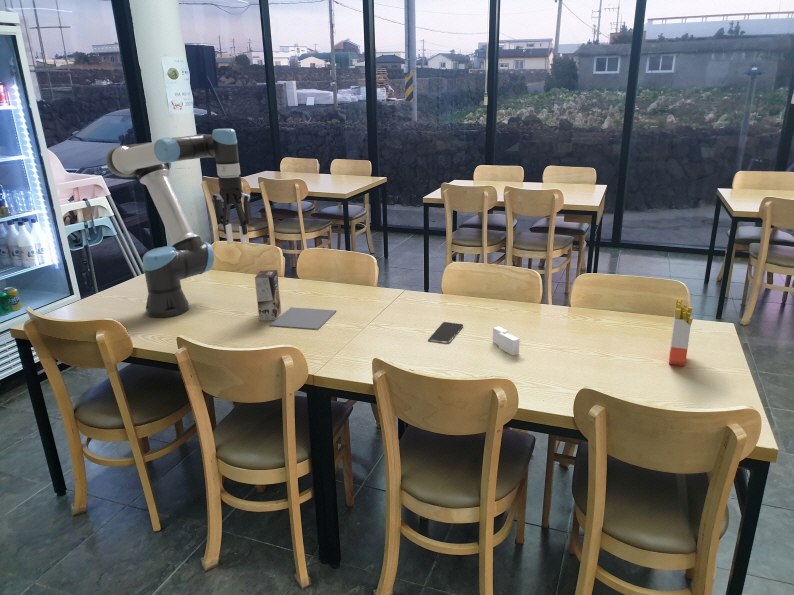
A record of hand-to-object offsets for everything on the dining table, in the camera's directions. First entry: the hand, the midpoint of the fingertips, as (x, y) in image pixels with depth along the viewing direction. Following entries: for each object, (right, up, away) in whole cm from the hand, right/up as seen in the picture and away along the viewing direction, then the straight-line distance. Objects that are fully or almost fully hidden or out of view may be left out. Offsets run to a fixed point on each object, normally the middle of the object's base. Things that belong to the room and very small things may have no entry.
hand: (237, 243), depth 214 cm
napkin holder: (+90, -35, -25) cm, 100 cm away
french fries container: (+137, -38, -38) cm, 147 cm away
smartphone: (+72, -31, -14) cm, 80 cm away
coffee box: (+10, -26, +6) cm, 29 cm away
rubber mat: (+23, -27, +3) cm, 35 cm away
